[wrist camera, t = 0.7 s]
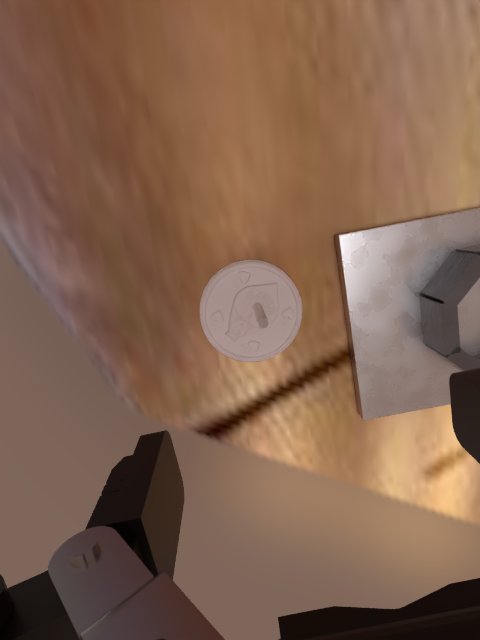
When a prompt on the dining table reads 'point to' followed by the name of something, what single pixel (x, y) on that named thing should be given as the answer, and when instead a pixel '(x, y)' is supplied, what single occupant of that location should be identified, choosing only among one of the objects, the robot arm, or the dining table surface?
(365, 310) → the hub plate
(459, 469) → the dining table surface
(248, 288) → the smoothie
